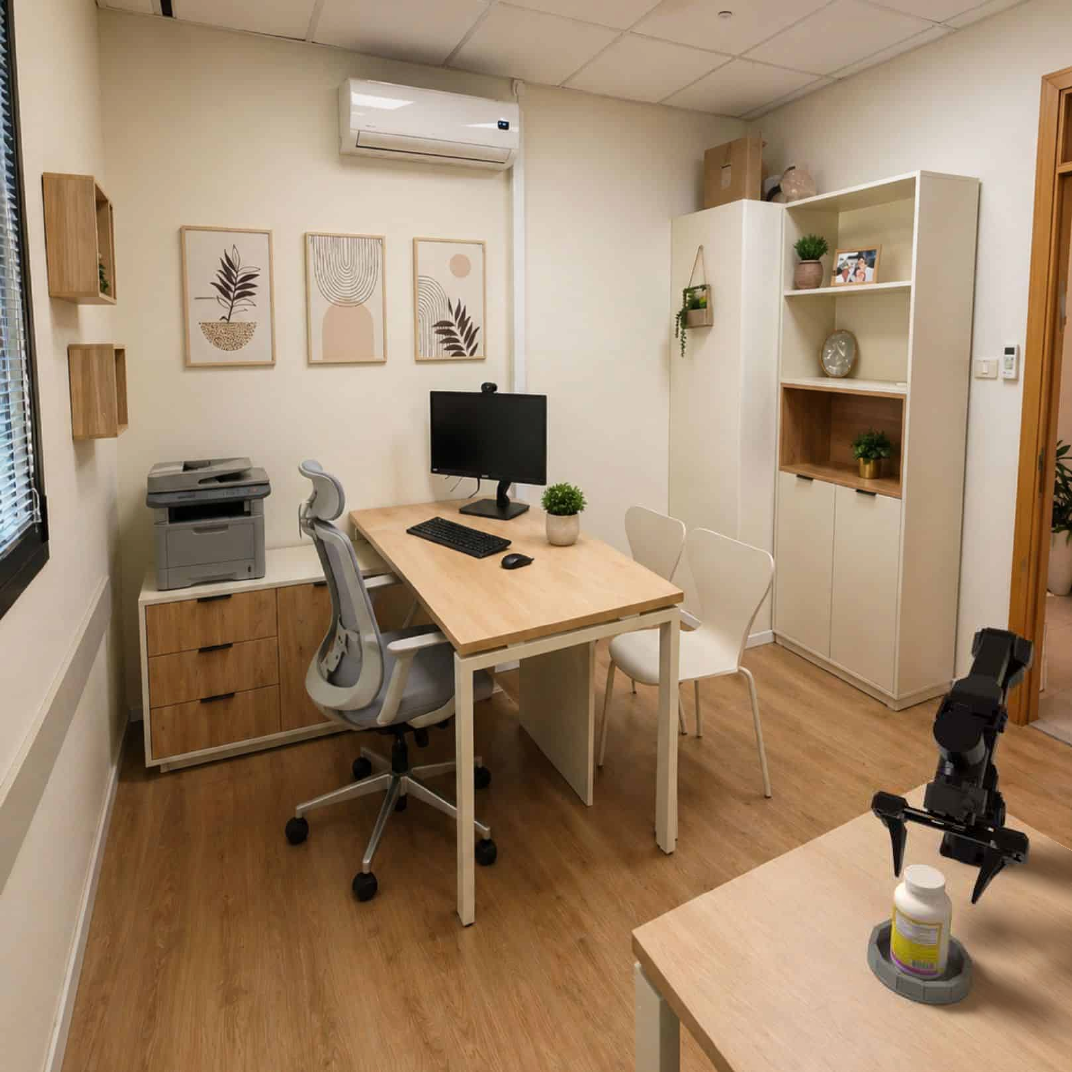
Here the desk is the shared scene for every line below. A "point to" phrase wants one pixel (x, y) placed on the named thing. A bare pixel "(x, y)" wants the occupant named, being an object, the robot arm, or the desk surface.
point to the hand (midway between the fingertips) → (933, 889)
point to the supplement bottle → (921, 923)
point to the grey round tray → (919, 990)
